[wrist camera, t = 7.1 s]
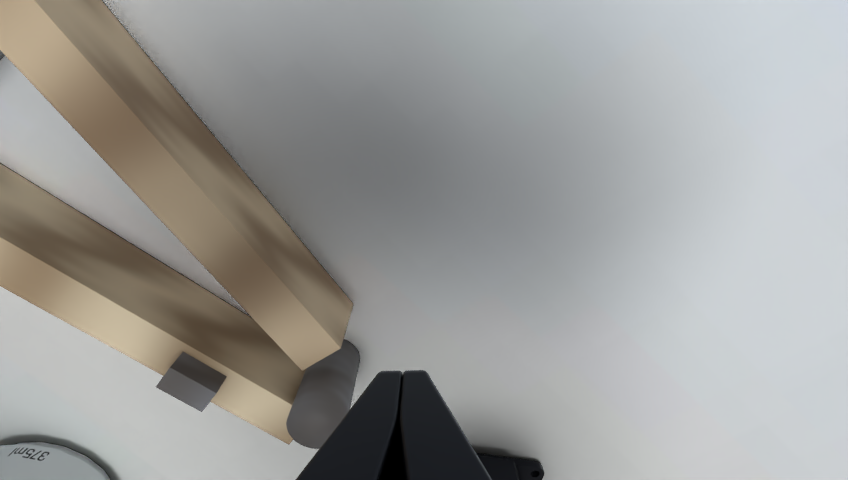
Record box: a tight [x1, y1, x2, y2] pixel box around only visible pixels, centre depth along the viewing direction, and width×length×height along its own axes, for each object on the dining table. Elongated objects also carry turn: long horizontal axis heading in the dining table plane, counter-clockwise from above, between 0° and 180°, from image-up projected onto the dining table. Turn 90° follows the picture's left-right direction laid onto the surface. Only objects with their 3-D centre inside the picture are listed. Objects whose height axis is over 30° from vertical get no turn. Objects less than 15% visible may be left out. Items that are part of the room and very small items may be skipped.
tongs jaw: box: [0, 0, 353, 371], centre depth 16 cm, size 22×2×4 cm, turn 34°
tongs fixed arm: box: [0, 164, 360, 449], centre depth 18 cm, size 25×4×4 cm, turn 51°
